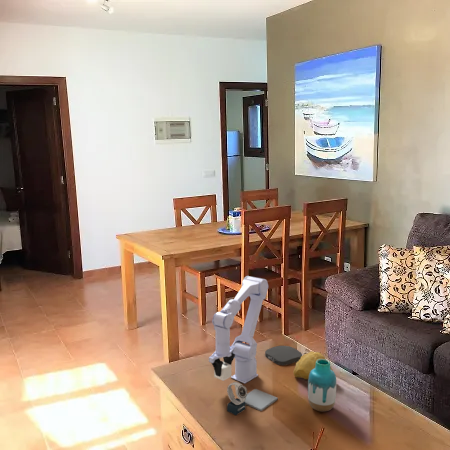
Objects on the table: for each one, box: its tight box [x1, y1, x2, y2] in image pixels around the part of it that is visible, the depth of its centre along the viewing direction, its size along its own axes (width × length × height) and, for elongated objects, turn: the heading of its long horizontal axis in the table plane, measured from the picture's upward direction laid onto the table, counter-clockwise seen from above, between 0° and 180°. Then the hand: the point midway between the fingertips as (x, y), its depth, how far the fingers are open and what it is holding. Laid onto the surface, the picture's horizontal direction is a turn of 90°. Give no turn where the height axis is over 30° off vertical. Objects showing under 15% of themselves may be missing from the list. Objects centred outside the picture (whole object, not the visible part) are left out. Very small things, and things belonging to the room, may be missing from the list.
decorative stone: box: [293, 350, 334, 380], centre depth 212 cm, size 13×15×15 cm
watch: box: [226, 381, 248, 416], centre depth 188 cm, size 6×8×11 cm
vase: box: [307, 358, 337, 412], centre depth 189 cm, size 11×11×19 cm
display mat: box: [244, 388, 278, 412], centre depth 196 cm, size 11×11×1 cm
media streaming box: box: [264, 345, 303, 366], centre depth 234 cm, size 15×15×3 cm
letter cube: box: [213, 360, 232, 381], centre depth 201 cm, size 5×5×5 cm
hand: (222, 373), depth 201 cm, fingers closed on letter cube, 5 cm apart
